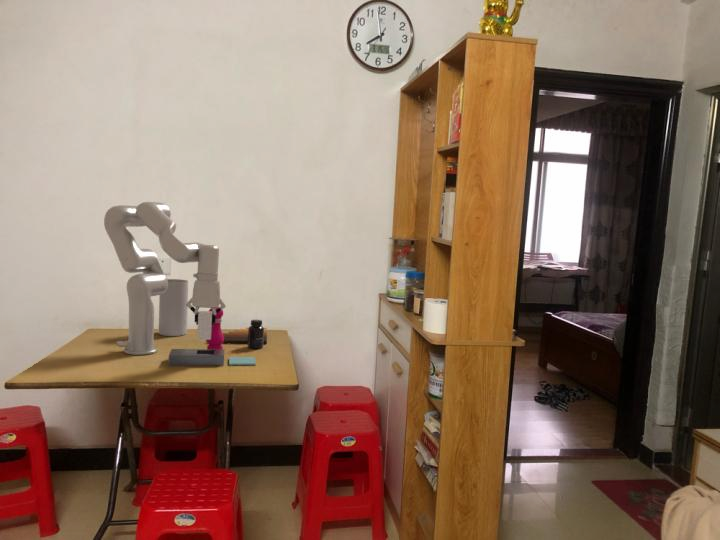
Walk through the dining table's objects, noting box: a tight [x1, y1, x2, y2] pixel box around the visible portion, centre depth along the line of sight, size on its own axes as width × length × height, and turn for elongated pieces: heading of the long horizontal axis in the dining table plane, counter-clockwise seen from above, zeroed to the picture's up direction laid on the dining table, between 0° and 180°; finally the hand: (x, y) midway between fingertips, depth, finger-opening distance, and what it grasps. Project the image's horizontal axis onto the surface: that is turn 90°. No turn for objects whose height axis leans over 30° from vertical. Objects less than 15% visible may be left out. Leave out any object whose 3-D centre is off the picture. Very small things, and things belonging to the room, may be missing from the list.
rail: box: [168, 348, 225, 367], centre depth 223 cm, size 20×10×4 cm, turn 102°
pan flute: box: [222, 327, 268, 345], centre depth 270 cm, size 25×3×25 cm
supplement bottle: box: [246, 319, 265, 350], centre depth 252 cm, size 7×7×12 cm
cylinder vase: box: [158, 278, 189, 337], centre depth 269 cm, size 12×12×25 cm
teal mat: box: [228, 356, 257, 367], centre depth 227 cm, size 10×10×1 cm
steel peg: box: [196, 310, 212, 340], centre depth 223 cm, size 5×5×10 cm
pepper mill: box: [205, 306, 224, 349], centre depth 243 cm, size 7×7×20 cm
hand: (204, 323), depth 223 cm, fingers closed on steel peg, 5 cm apart
